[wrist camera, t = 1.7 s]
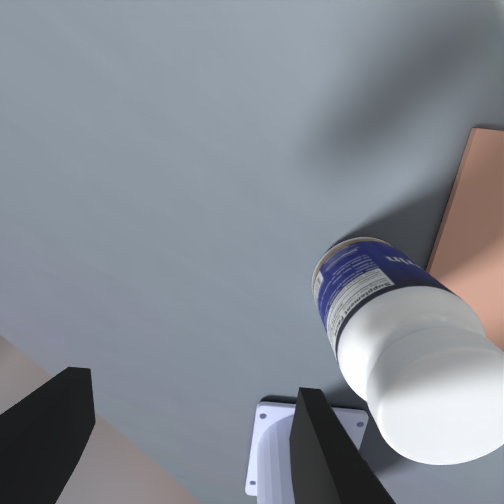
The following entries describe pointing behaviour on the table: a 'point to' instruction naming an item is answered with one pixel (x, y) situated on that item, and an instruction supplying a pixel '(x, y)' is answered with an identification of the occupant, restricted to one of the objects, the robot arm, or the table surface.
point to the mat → (476, 233)
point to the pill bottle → (411, 353)
